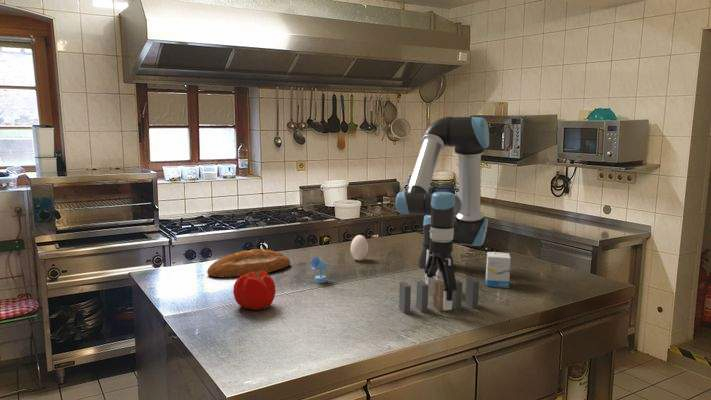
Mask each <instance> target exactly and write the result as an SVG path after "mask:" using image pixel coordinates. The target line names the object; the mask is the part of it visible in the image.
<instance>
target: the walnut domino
mask: <svg viewBox="0 0 711 400" xmlns="http://www.w3.org/2000/svg"><path fill="white" fill-rule="evenodd" d="M444 289H445V286H444V283H443V282H442V281H441V280H434V292H433V296H432V297H433V298H432V299H433V300H432V307H433V308H435V309H436V310H437V311H438V312H445V311H446V310H443V300H444Z"/></svg>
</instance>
